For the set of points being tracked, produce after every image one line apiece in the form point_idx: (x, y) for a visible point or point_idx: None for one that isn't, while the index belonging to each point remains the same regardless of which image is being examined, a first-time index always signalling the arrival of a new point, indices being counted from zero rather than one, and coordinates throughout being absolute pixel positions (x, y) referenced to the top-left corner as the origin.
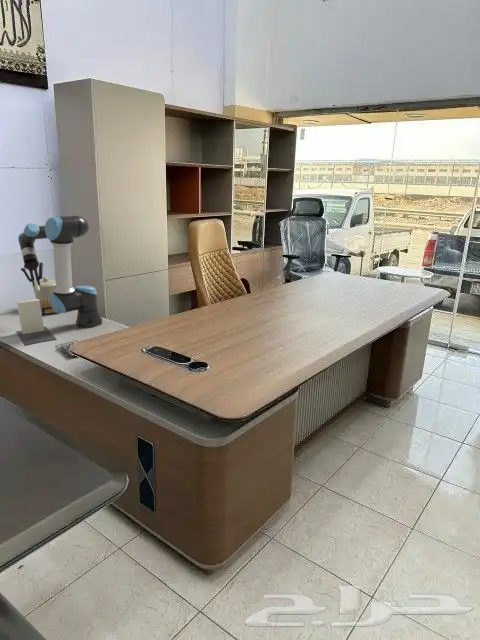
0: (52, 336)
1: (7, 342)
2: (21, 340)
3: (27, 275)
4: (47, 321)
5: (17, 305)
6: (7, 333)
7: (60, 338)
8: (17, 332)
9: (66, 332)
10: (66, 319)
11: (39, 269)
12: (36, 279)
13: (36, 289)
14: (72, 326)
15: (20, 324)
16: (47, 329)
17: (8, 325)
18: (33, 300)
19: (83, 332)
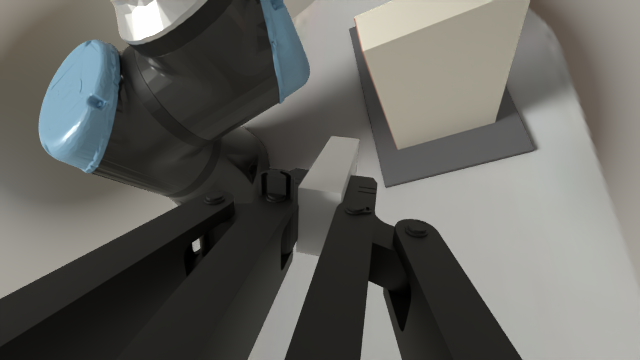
0: (360, 51)
1: (542, 24)
2: None
3: (445, 314)
4: (376, 293)
5: (526, 10)
6: (580, 148)
7: (337, 42)
8: (518, 130)
9: (312, 99)
10: (289, 285)
11: (53, 304)
12: (295, 205)
13: (353, 141)
14: (283, 165)
15: (500, 97)
16: (376, 138)
17: (625, 319)
18: (396, 13)
19: None
